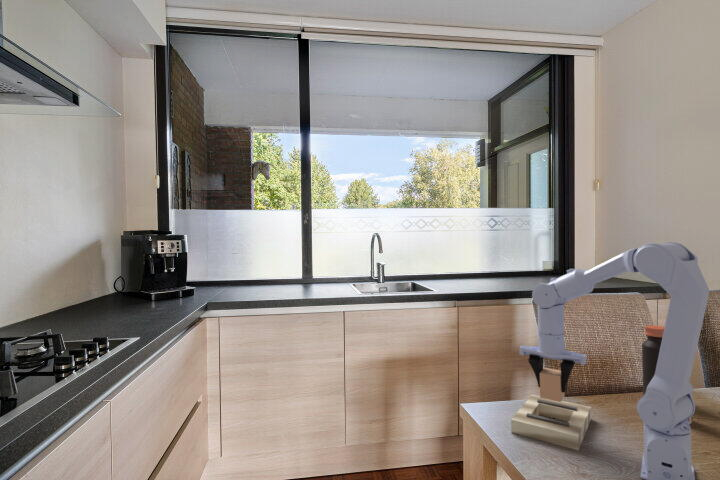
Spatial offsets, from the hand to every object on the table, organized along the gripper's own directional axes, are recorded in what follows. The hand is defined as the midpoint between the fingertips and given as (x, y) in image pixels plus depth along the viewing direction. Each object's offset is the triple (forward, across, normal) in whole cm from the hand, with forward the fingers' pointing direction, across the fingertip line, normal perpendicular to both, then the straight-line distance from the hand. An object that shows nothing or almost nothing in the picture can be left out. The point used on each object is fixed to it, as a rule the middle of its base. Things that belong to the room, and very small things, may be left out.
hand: (552, 388), depth 96 cm
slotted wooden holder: (+9, 0, 0) cm, 9 cm away
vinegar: (+9, -20, -32) cm, 39 cm away
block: (+2, 0, 0) cm, 2 cm away
